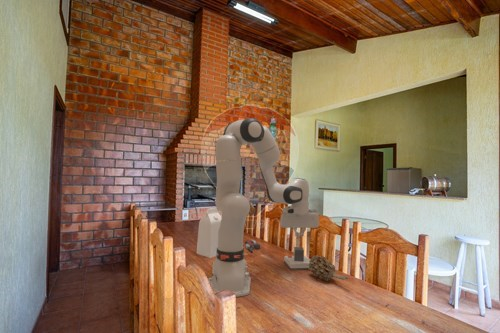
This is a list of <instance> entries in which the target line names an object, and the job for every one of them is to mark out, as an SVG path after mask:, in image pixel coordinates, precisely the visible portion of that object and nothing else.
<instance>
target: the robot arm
mask: <svg viewBox="0 0 500 333" xmlns="http://www.w3.org/2000/svg"><path fill="white" fill-rule="evenodd" d="M248 144H250V145H251V146H252V147H253V150H254V153H255V154H256V156H257V159H258V167H259V170H260V173H261V176H262V179H263V182H264V184H265V188H266V196H267V199H268V200H269V201H270V202H271V203H275V204H276V203H279V204H280V203H281V204H284V205H285V204H286V205H287V206H285V207H282V210H281V211H282V213H281V214H280V221H279V226H280V227H281V228H282V229H283V228H284V229H287V228H288V229H291V228H292V229H293V231H294V236H295V237H305V233H306V231H307V228H311V229H312V228H313V229H314V228H316V229H317V228H319V226H320V219H319V217H320V213H319V210H317V209H309V207H310V203H309V196H310V185H309V181H308V180H307V179H305V178H299V177H294V178H292V179H293V180H291V181H290V182H289V183H286V184H282V183H279V182H278V180H277V178H276V175H275V173H274V169H273V167H274V165H276V164H277V163H278V162H279V160H280V159H281V151H280V148H279V145H278V143H277V142H276V139H275V137H274V135H273V133H272V132H271V131H270V129H269V127H267V126H265V125H262V123H261V122H260V121H259V120H258V119H256V118H252V117H251V118H250V117H249V118H248V117H247V118H245V119H238V120H236V121H233V122H230V123H229V124H227V125H226V127H225V128H224V131H223V134H222V135H221V136H219V137H218V138H217V140H216V143H215V168H216V169H215V170H216V187H215V188H216V189H215V200H214V203H215V208H217V210H218V213H220V214H221V217H222V219H221V224H220V228H219V230H218V248H217V251H216V256H215V257H216V258H215V259H214V260H213V261H212V272H211V277H208V278H207V281H208V280H209V282H210V284H211V287H212V289H213V291H214V292H217V291H222V290H230V291H232V292H233V293H235V295H236V297H235V298H239V297H245V296H247V295H249V294H250V292H251V291H250V290H251V284H252V283H251V280H252V278H251V277H250V272H249V271H247V270H248V269H249V266H247V260H246V259H245V250H244V230H245V226H246V220H247V216H248V215H249V213H250V211H251V205H250V204H251V203H250V201H249V200H248V199H247V197H246V196H244V195H243V194H242V193H240V189H241V188H240V187H241V181H242V178H243V169H242V167H243V166H242V156H241V148H242V145H248ZM300 228H301V229H302V230H301V232H298V231H297V230H298V229H300Z"/></svg>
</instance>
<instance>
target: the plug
mask: <svg viewBox="0 0 500 333" xmlns="http://www.w3.org/2000/svg"><path fill="white" fill-rule="evenodd" d="M293 248H294V249H293V256H294V261H303V262H304V256H305V250H304V247H302V246H294V247H293Z"/></svg>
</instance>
